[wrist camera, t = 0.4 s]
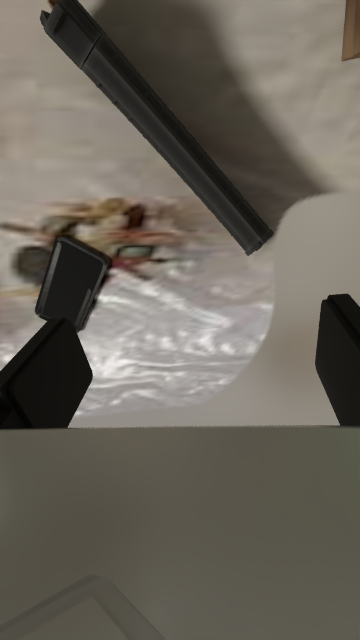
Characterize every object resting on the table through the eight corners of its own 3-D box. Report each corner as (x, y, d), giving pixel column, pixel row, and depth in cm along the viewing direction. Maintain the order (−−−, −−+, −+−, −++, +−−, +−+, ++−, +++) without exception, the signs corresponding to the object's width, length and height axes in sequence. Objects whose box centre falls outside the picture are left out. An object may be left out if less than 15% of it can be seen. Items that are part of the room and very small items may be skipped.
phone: (33, 314, 48) (57, 234, 40) (36, 311, 49) (60, 232, 41) (78, 336, 49) (109, 262, 41) (80, 332, 50) (111, 259, 42)
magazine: (300, 268, 31) (9, -64, 15) (274, 287, 32) (-17, 3, 16) (253, 205, 43) (69, -11, 27) (236, 221, 44) (51, 24, 29)
